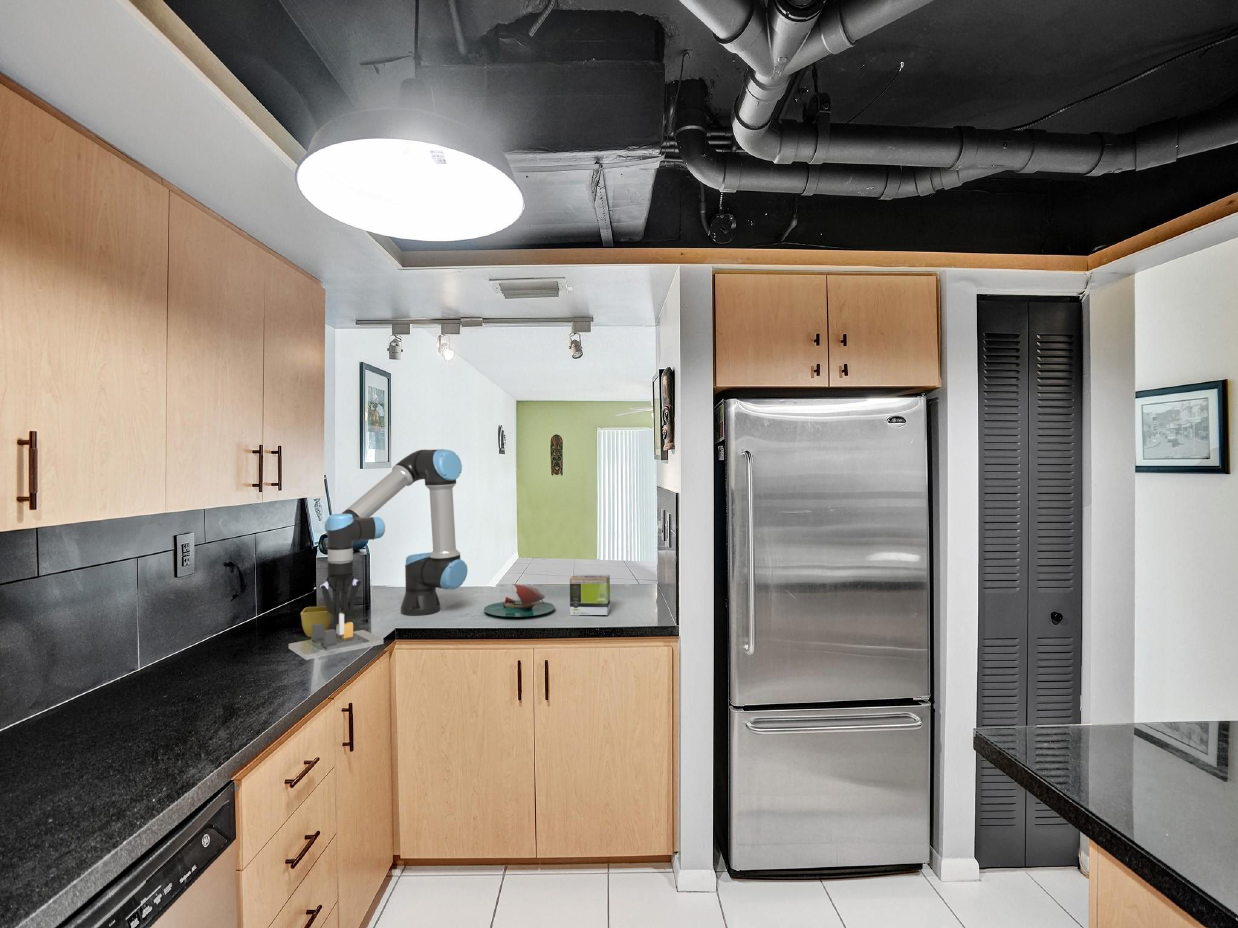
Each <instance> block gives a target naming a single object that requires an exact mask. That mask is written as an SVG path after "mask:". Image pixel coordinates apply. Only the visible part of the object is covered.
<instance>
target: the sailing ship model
mask: <svg viewBox="0 0 1238 928" xmlns="http://www.w3.org/2000/svg"><path fill="white" fill-rule="evenodd" d="M513 585H514V587H515V588H516V594H517V596H518V598H519V599H513V598H511V597H507V596H505V600H504V601H500V602H495V603H491V604H488V605H486V606H485V607H484V608H483V611H484V612H485V613H487V614H490V615H492V616H499V617H509V618H511V617H512V618H513V617H514V618H515V617H516V618H517V617H519V618H520V617H532V616H540V615H543V614H548V613H550V612H552V611H553V610H555V607H556V606H555V605H554V604H553V603H552V602H548V601H547V602H546V601H544V599H545V598H546V596H545V594H543V593H541V591H539V589H538V588H535V587H532V586H527V585H522V584H515V583H513ZM511 589H512V591H513V588H511Z"/></svg>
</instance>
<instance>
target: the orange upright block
mask: <svg viewBox="0 0 1238 928" xmlns="http://www.w3.org/2000/svg"><path fill="white" fill-rule="evenodd" d="M353 632H354V623H353V622H352V621H347V622H346V623H344V634H342V635H341V639H343V638H348V637H353Z"/></svg>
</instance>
